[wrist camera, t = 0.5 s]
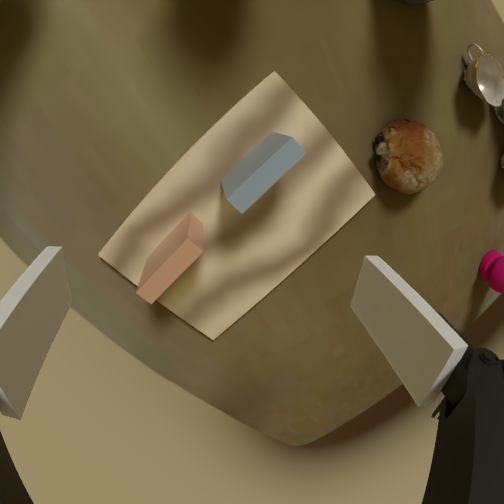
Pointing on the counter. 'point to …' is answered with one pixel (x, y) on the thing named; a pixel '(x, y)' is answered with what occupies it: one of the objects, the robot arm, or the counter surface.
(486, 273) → the pepper mill
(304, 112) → the board
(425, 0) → the liquor
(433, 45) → the counter surface
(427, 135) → the bread roll
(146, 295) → the pink square tile
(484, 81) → the chinaware
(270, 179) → the tile blue
